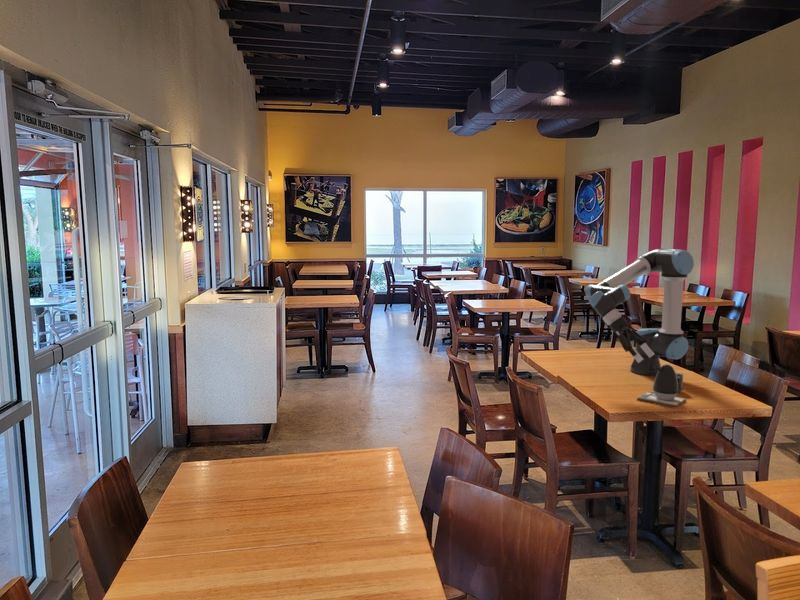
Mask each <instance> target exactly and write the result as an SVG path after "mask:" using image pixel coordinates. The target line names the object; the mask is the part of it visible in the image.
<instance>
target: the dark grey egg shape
mask: <svg viewBox="0 0 800 600" xmlns="http://www.w3.org/2000/svg"><path fill="white" fill-rule="evenodd" d="M655 369H657V370H659V371H658V373H657V375H655V378H654V380H653V385H652V390H653V393H654V394H655V396H656V397H657V398H659V399H661V400H672V399H674V398H675V397H678V394H679V393H678V380H677V376H676V373H677V372H676V371H675V369H674V367H673V366H672V365H671V364H663V365H662V366H661V368H659V367H655Z"/></svg>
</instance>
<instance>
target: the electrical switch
mask: <svg viewBox="0 0 800 600" xmlns="http://www.w3.org/2000/svg"><path fill="white" fill-rule="evenodd" d="M675 373H676V376H677V380H678V392H680V391H682V392H683V387H684V386H683V385H684V374H683V373H681V372H675Z"/></svg>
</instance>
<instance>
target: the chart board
mask: <svg viewBox="0 0 800 600" xmlns="http://www.w3.org/2000/svg"><path fill="white" fill-rule="evenodd" d="M636 400H637V401H639V400H640V401H639V402H643V401H645V402H644V403H648V402H650V403H649V404H653V403H656V404H655V405H658V404H660V405H659V406H663V405H664V407H667V406H668V408H672V407H673V409H676V408H678V407H679V406H680V405H682V404H683V402H684V401H685V402H686V401H687V398H684V397H679V396H676V397H675V398H674V399H672V400H661V399H659V398H657V397H656V396H655V394H654V391H653V392H652V391H647V392H646V393H644V394H642V395H640V396H638V397H636ZM685 402H684V403H685ZM681 403H682V404H681ZM678 405H679V406H678Z"/></svg>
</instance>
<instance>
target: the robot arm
mask: <svg viewBox="0 0 800 600" xmlns="http://www.w3.org/2000/svg"><path fill="white" fill-rule="evenodd" d="M694 266H695V264H694V258H693V256H692V254H691V253H690V252H689V251H688V250H685V249H684V250H683V249H677V248H675V249H674V248H656V249H653V250H650V251H648V252H646V253H644V254H642V255H640V256H639V257H637V258H636V259H635V261H634V262H633V263H631V264H629V265H627V266H626V267H624V268H622V269H621V270H619V271H617V272H616V273H614V274H611V276H609V277H607V278H605V279H603V281H601V282H599V283H597V284H595V283H594V284H592V283H591V284H589V285H587V287H586V288H585V292H584V294H585V297H586V298H587V300H588V303H589V304H590V306H591V307H592V309H594V310H595V312H596V313H597V314H598V315H599V316H600V318H601V319H602V320H603V322H604V323H606V325H608V326H609V328H610V329H611V331H612V332H613V333H614V334H615V336H616V337H617V339H618V342H620V345H621V347H622V348H623V350H624V351H625V352H626V353H630V355H631V356H632V357H633V361H632V362H631V365H630V372H632V373H634V374H637V375H642V376H656V375H657V373H658V371H659V370H657V369H655V367H659V368H661V367H662V366H661V361H660V357H662V358H665V359H666V358H667V359H669V360H671V359H672V360H680V359H681V358H683V357H684V356H685V355H686V354H687V351H688V349H689V341H688V339H687V338H686V337H684V330H682V328H681V326H682V325H681V324H682V312H683V294H684V281H685V280H686V279H687V278H688V275H689V274H690V273H691V272H692V271H693V270H694ZM655 272H656V273H657V272H660V273H661V274H660V275H661V278H662V279H663V280H664V283H663V299H662V301H663V303H662V317H661V328H656V327H655V328H653V327H652V328H649V327H648V328H639V329H637V331H636V330H635V329H633V328H632V326H631V325H629V326H627V325H628V321H627V320H626V319H625V318H624V317H623V316H622V313H621V312H620V311H619V310H618V309H617V308H616V307H618V306H619V305H621V304H623V303H625V302H626V301H627V300H628V299H630V298H631V294H632V293H631V290H630V289H629V287H628V286H627V285H628V284H630V283H631V282H633V281H635V280H636V279H638V278H640V277H642V276H643V275H644V276H645V275H649V274H651V273H655ZM631 340H632V341H634V342H635V347H633V345H632V343H631Z"/></svg>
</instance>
